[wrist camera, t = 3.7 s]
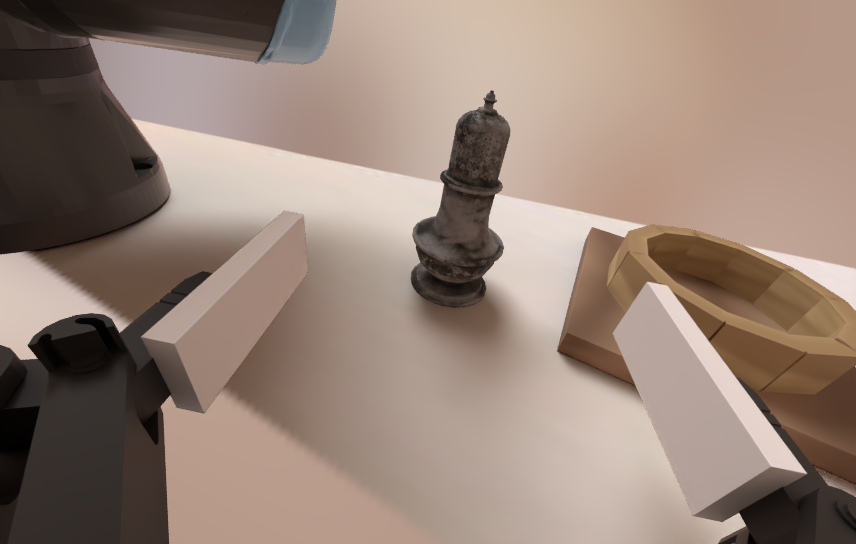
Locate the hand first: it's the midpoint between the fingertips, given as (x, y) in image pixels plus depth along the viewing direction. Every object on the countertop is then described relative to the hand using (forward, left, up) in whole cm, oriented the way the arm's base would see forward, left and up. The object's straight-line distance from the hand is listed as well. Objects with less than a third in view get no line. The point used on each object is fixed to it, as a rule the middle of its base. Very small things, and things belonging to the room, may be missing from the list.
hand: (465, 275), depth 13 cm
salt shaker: (-3, +8, -7) cm, 10 cm away
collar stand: (+13, +14, -6) cm, 20 cm away
